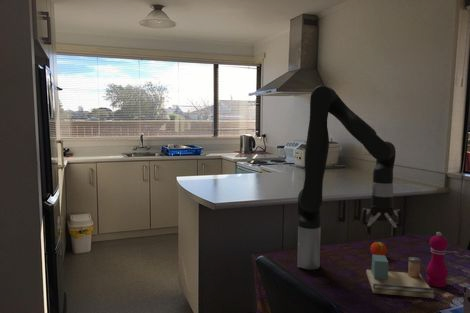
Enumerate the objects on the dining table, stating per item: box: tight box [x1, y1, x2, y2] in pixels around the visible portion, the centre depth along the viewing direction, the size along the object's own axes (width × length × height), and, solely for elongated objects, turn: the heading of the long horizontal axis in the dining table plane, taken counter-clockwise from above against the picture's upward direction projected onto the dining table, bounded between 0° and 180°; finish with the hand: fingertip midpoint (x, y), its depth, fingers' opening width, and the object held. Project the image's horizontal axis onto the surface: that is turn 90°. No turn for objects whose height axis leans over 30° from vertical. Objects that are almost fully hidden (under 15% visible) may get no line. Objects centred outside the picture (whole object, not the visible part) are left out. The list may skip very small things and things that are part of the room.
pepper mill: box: [426, 231, 449, 288], centre depth 142 cm, size 7×7×20 cm
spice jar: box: [407, 256, 421, 278], centre depth 146 cm, size 4×4×7 cm
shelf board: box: [366, 269, 436, 299], centre depth 142 cm, size 20×18×3 cm
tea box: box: [370, 254, 389, 280], centre depth 146 cm, size 5×7×7 cm
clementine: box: [370, 241, 388, 256], centre depth 171 cm, size 8×7×7 cm
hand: (380, 235), depth 145 cm, fingers open, 8 cm apart
